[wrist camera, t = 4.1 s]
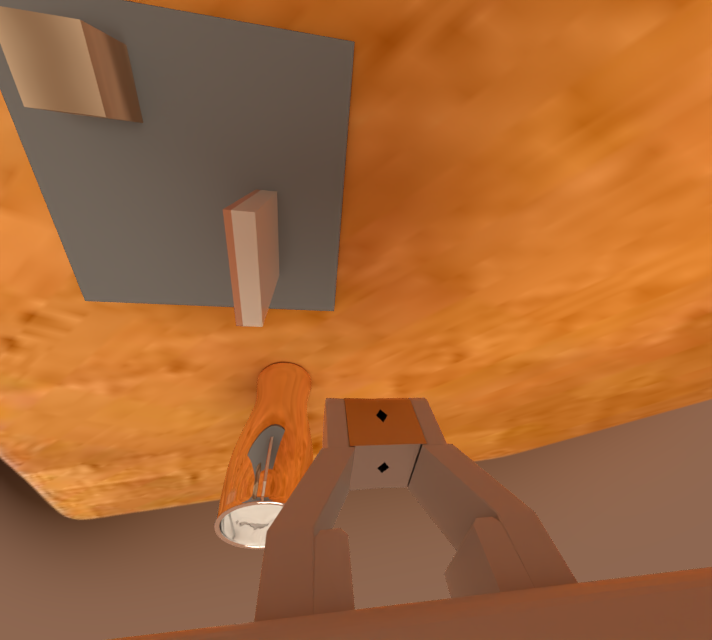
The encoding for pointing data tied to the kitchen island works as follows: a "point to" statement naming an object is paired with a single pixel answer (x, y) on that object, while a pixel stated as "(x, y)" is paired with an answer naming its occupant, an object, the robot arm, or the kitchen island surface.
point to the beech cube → (68, 66)
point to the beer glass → (267, 457)
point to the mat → (195, 156)
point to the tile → (253, 254)
